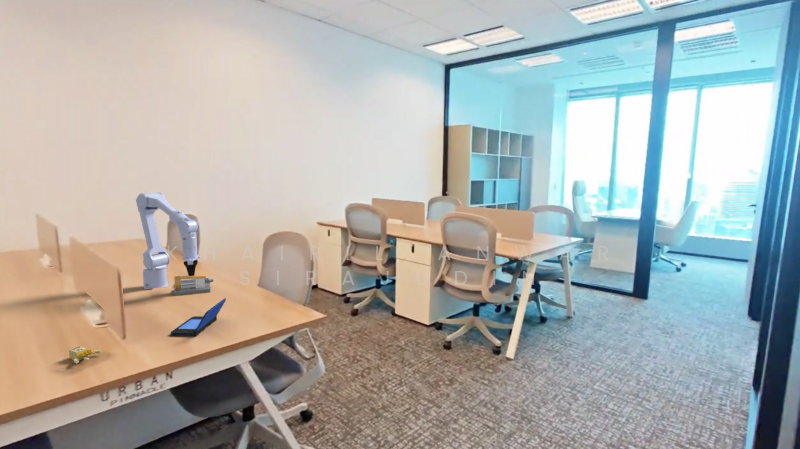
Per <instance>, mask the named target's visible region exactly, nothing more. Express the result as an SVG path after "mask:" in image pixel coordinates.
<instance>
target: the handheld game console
mask: <svg viewBox="0 0 800 449" xmlns="http://www.w3.org/2000/svg"><path fill="white" fill-rule="evenodd" d="M226 300H227V299H226V297H224V298H223V299H222V300H220V301H219V302H218V303H216V304H215V305H214V306H212V307H210V308H209V309H208V310H207V311H206V312H205V313H204V315H203V316H199V315H196V316H192V317H190V318H188V319H187V320H186V321H184V322H183V323H182V324H181V323H180V325H179V326H177V327H175V328H174V329H173V330H172V331H171V332H170V336H173V337H194V338H195V337H197V336H199V335H200V334H201V333H202V332H204V330H205V329H206V328H208V327H210V326H211V325H212V324H213V323H215V322H216V321H217V320H218V317H217V316H218V315H219V313H220V311H221V309H222V308H223V306H224V305H225V302H226Z"/></svg>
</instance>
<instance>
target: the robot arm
mask: <svg viewBox="0 0 800 449" xmlns="http://www.w3.org/2000/svg"><path fill="white" fill-rule="evenodd" d="M135 202H136V206H137V210H138V212H139V216H140V221H141V225H142V230H143V233H144V238H145V239H144V240H145V242H146V247H147V249H146V250H145V251H144V252H143V253H142V256H143V259H142V260H143V262H142V263H143V266H144V267H145V268H144V269H143V270H142V271H143V272H142V275H143V276H142V277H143V290H153V289H156V288H157V289H160V288H167V287H169V282H168V279H167V276H168V274H167V268H168V265H169V264H170V262H171V257H170V255H169V253H168V250H167V249H166V248H165V247H162V246H161V242H160V237H159V233H158V228H157V225H156V224H157V223H156V220H155V219H156V218H155V213H156V211H158V210H161V211H162V212H163V213H165V214H166V215H168V219H169V221H171V222H172V223H173V224H174V225H175V226H176V227H177V228H178V232H179V233H180V238H181V241H182V242H181V244H182V256H183V257H182V260H184V261H183V264H184V266H185V268H186V271H187V276H196V274H195V273H196V268H197V265H198V263H199V262H198V259H200V258H201V256H200V255H198V242H197V241H198V240H197V233H198V232H199V229H200V225H199V223H198V221H197V220H196V219H191V218H189V217H188V216H187V215H186V214H185V213H183V211H182V210H180V209H175V208H174V207H173V206H172V205H171V204H170V203H169V202H168V201H167V199H166V196H165V195H164V194H163V193H162V192H152V193H151V192H149V193H139V194H138V195H137V196H136V199H135Z"/></svg>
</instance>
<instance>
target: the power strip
mask: <svg viewBox="0 0 800 449" xmlns="http://www.w3.org/2000/svg"><path fill="white" fill-rule="evenodd" d="M206 293H211V283H210V284H205V288H197V289H196V285H190V286H181V289H180V290H175V288H174V290H173V296H174V297H176V296H177V297H178V296H184V295H185V296H187V295H195V294H206Z"/></svg>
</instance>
